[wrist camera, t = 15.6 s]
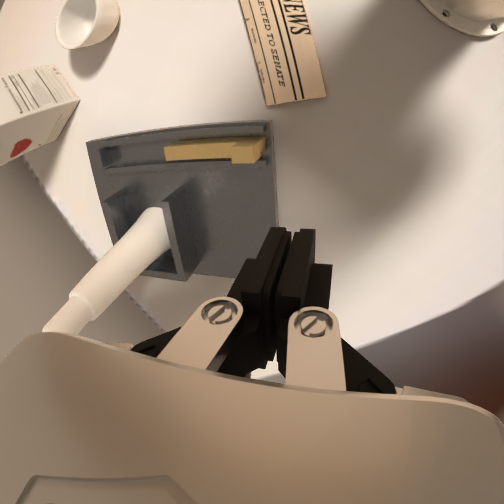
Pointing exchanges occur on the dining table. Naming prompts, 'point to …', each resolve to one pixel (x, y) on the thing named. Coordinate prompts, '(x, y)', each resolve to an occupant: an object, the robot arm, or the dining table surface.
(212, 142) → the wooden block
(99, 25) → the teacup
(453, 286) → the dining table surface
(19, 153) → the supplement box
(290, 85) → the newspaper
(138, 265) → the cosmetic bottle
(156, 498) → the robot arm
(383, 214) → the dining table surface
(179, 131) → the cradle
